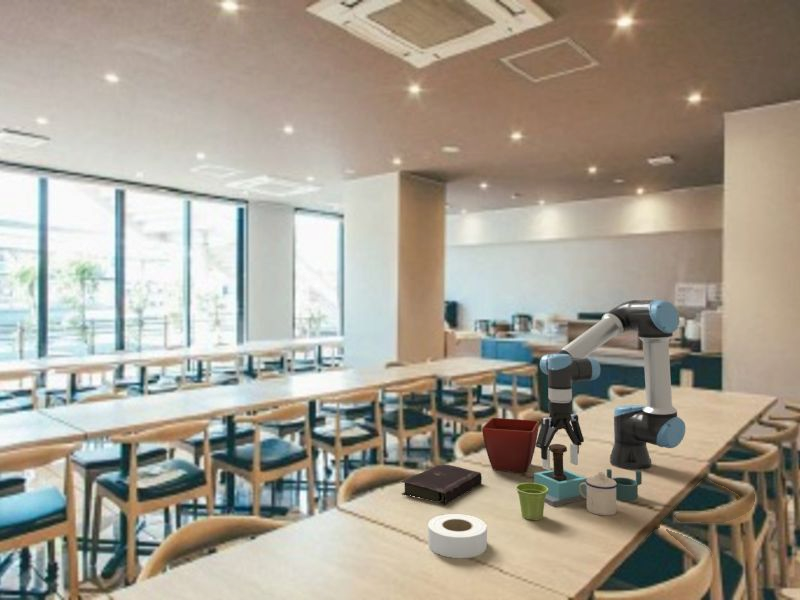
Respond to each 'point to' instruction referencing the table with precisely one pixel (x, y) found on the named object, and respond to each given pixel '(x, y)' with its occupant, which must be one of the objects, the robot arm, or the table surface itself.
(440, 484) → the diary
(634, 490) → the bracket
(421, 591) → the table surface
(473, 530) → the roll of tape
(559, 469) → the bolt
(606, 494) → the teacup with lid
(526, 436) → the plant pot
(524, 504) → the plant pot
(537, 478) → the socket
